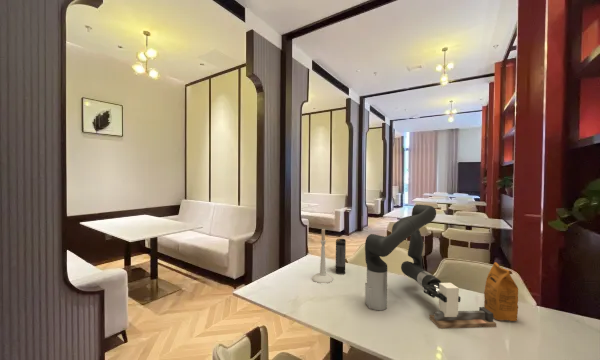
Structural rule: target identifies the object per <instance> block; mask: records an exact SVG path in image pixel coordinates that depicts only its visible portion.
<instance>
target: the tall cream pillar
mask: <svg viewBox="0 0 600 360" xmlns="http://www.w3.org/2000/svg"><path fill="white" fill-rule="evenodd" d="M459 289H460V288H459V287H458V286H456V285H455V284H453V283H452V282H442V283H439V292H440V293H442V294H443V295H444V296H446V297H447V302H444V301H442V300H441V299H439V298H438V310H439V311H442V312H443V313H444V317H457V315H458V311H459V302H458V297H459V296H460V295H459Z"/></svg>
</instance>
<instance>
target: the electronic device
mask: <svg viewBox="0 0 600 360" xmlns="http://www.w3.org/2000/svg"><path fill="white" fill-rule="evenodd" d="M346 244H347V243H346V238H336V240H335V274H338V275H345V274H346Z"/></svg>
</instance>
